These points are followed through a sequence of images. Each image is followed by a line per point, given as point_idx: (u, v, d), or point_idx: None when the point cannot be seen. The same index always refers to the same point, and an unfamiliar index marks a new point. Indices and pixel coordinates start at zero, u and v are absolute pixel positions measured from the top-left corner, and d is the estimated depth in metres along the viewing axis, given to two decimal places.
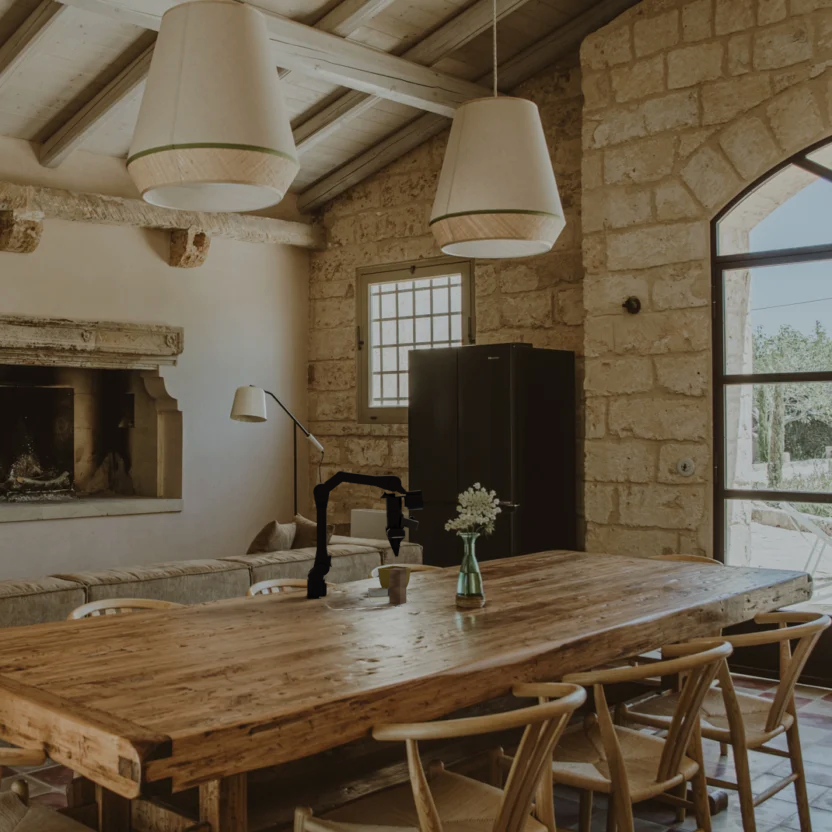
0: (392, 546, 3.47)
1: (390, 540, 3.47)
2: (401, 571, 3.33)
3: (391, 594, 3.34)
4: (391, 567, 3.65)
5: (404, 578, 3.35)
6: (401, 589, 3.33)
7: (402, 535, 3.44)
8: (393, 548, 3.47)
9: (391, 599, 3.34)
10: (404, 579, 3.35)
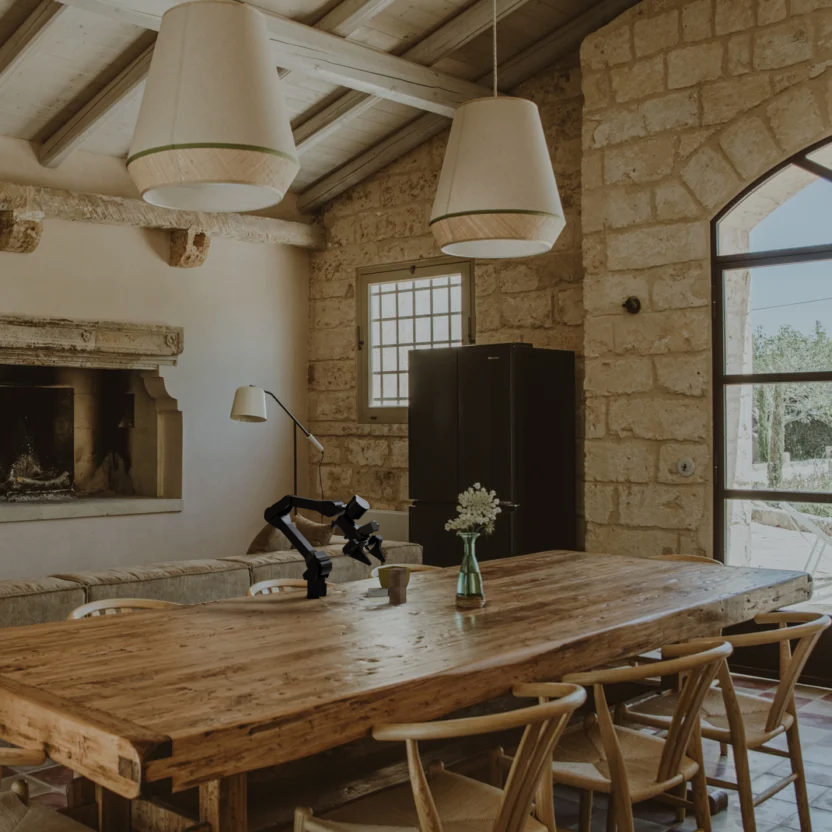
0: (359, 559, 3.36)
1: (353, 556, 3.36)
2: (401, 571, 3.33)
3: (391, 594, 3.34)
4: (391, 567, 3.65)
5: (404, 578, 3.35)
6: (401, 589, 3.33)
7: (353, 545, 3.33)
8: (361, 560, 3.35)
9: (391, 599, 3.34)
10: (404, 579, 3.35)
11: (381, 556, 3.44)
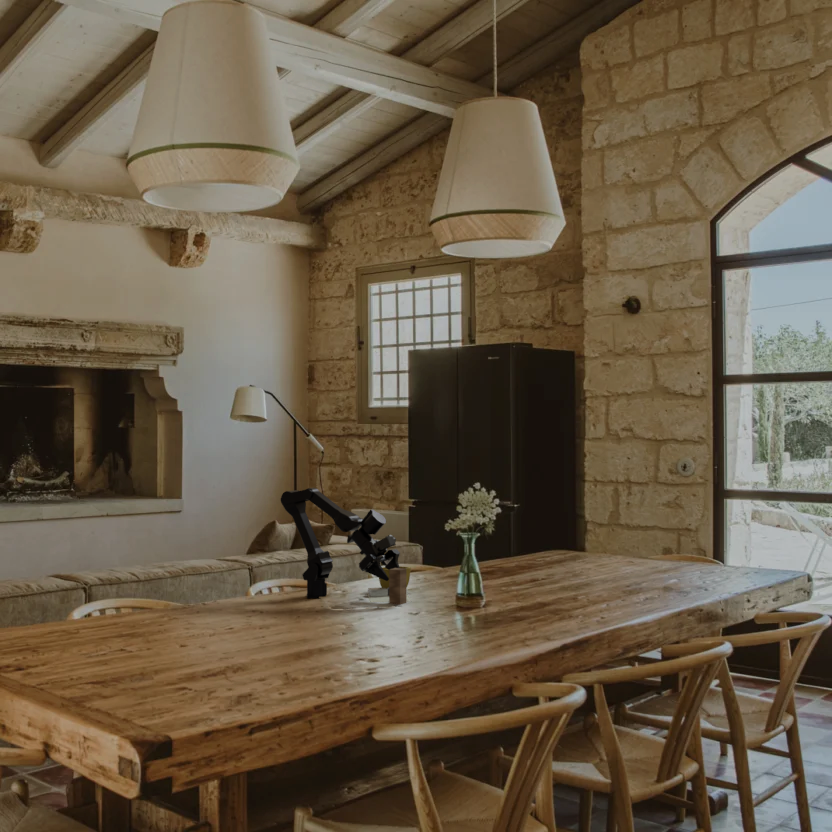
0: (376, 575, 3.32)
1: (370, 571, 3.33)
2: (401, 571, 3.33)
3: (391, 594, 3.34)
4: None
5: (404, 578, 3.35)
6: (401, 589, 3.33)
7: (370, 560, 3.30)
8: (379, 575, 3.32)
9: (391, 599, 3.34)
10: (404, 579, 3.35)
11: None
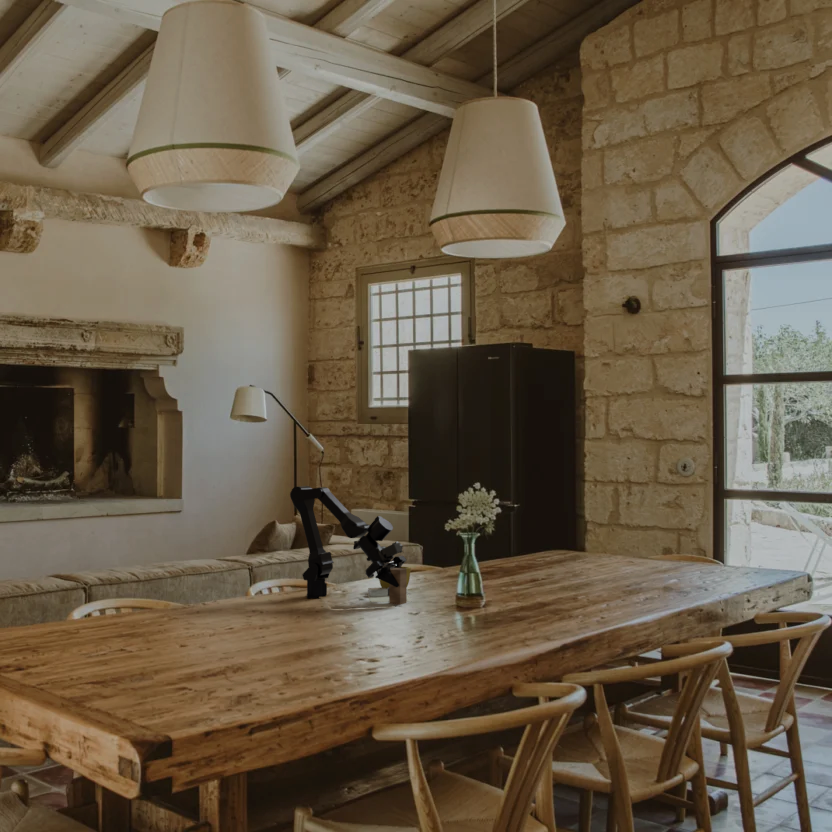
0: (386, 581, 3.33)
1: (380, 577, 3.33)
2: (401, 571, 3.33)
3: (391, 594, 3.34)
4: None
5: (404, 578, 3.35)
6: (401, 589, 3.33)
7: (376, 567, 3.28)
8: (389, 582, 3.33)
9: (391, 599, 3.34)
10: (404, 578, 3.35)
11: None
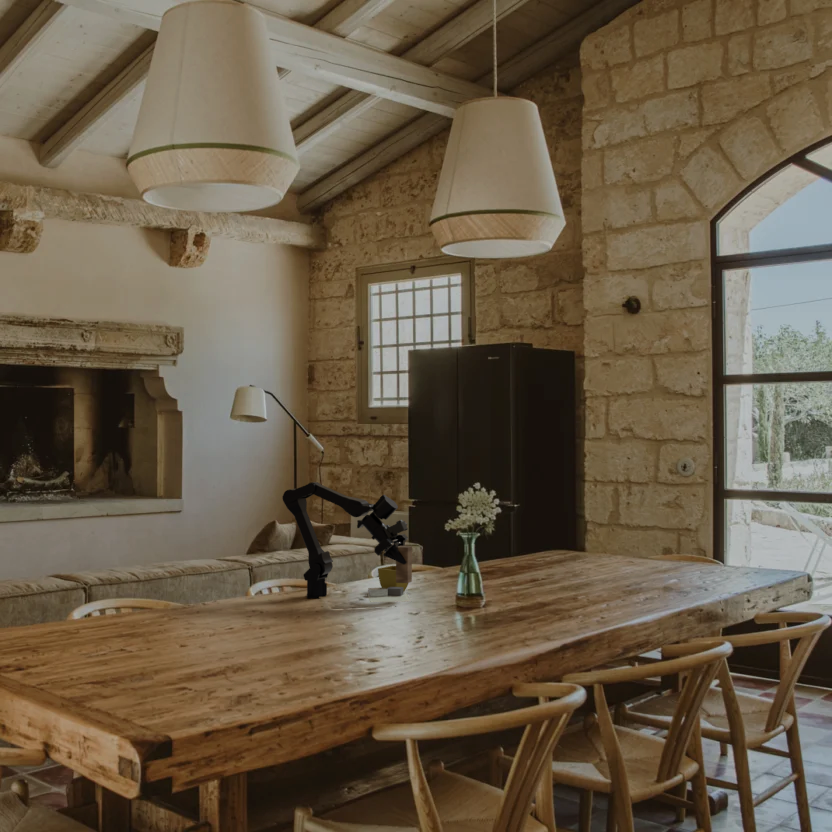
0: (394, 558, 3.38)
1: (387, 555, 3.38)
2: (408, 548, 3.38)
3: (397, 571, 3.39)
4: (391, 567, 3.65)
5: (410, 555, 3.40)
6: (408, 566, 3.38)
7: (386, 544, 3.32)
8: (396, 559, 3.38)
9: (397, 576, 3.39)
10: (410, 556, 3.40)
11: None
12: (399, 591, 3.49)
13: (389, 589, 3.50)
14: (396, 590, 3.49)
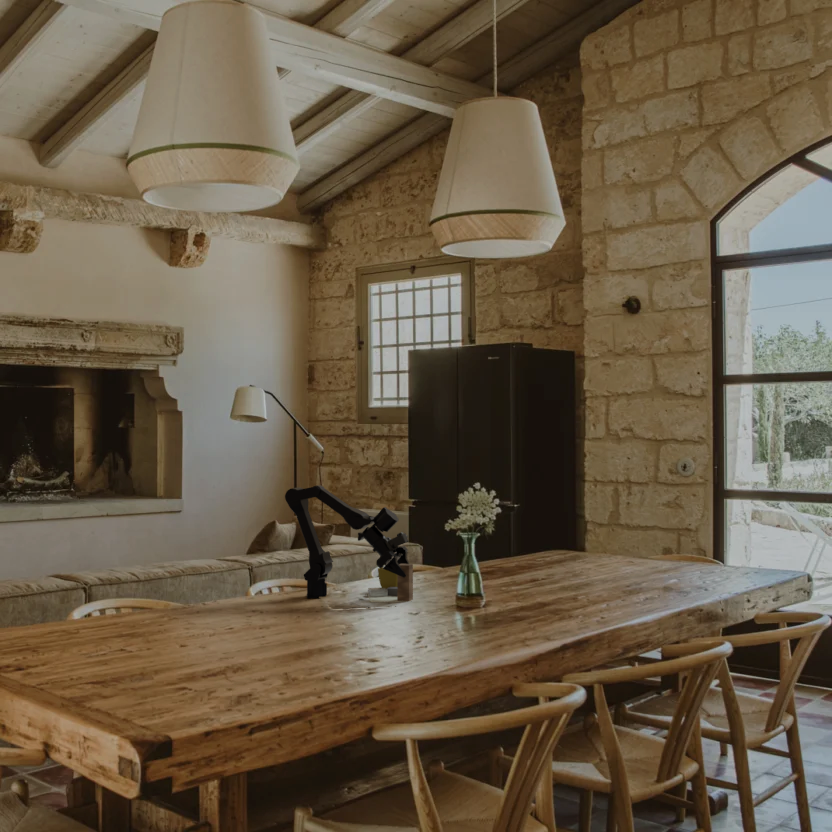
0: (393, 571, 3.37)
1: (387, 568, 3.37)
2: (409, 566, 3.40)
3: (399, 589, 3.40)
4: None
5: (411, 573, 3.42)
6: (410, 584, 3.40)
7: (389, 557, 3.33)
8: (396, 572, 3.37)
9: (399, 594, 3.40)
10: (411, 574, 3.41)
11: None
12: None
13: (389, 589, 3.50)
14: (396, 590, 3.49)
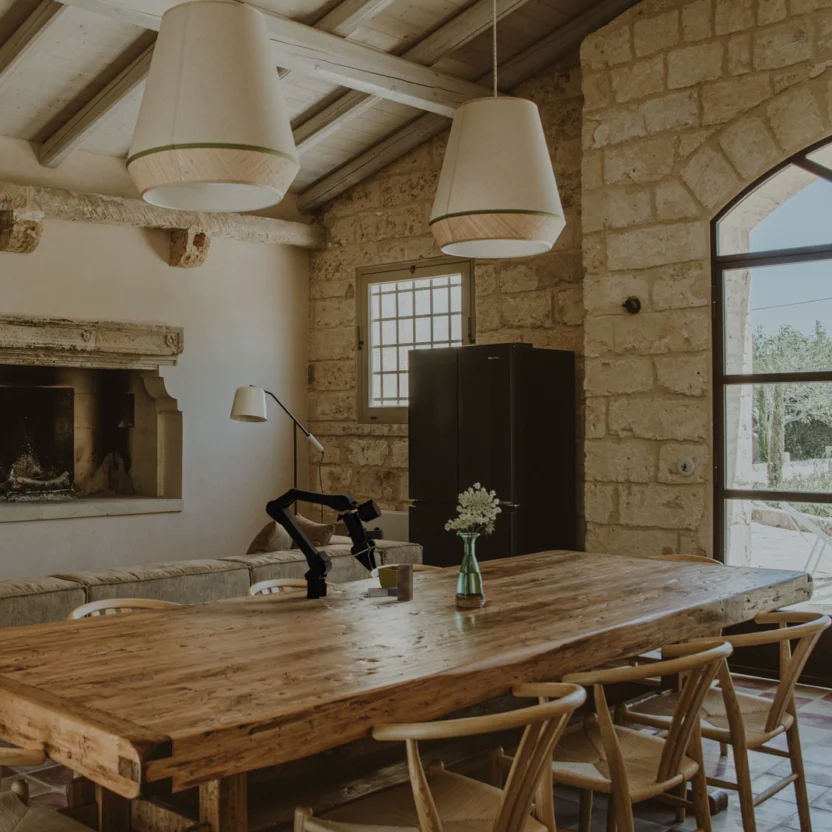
0: (362, 562, 3.41)
1: (357, 557, 3.40)
2: (410, 566, 3.40)
3: (399, 589, 3.40)
4: (391, 567, 3.65)
5: (411, 573, 3.42)
6: (410, 584, 3.40)
7: (365, 548, 3.37)
8: (364, 564, 3.41)
9: (399, 594, 3.40)
10: (411, 574, 3.41)
11: (373, 562, 3.51)
12: None
13: (389, 589, 3.50)
14: (396, 590, 3.49)
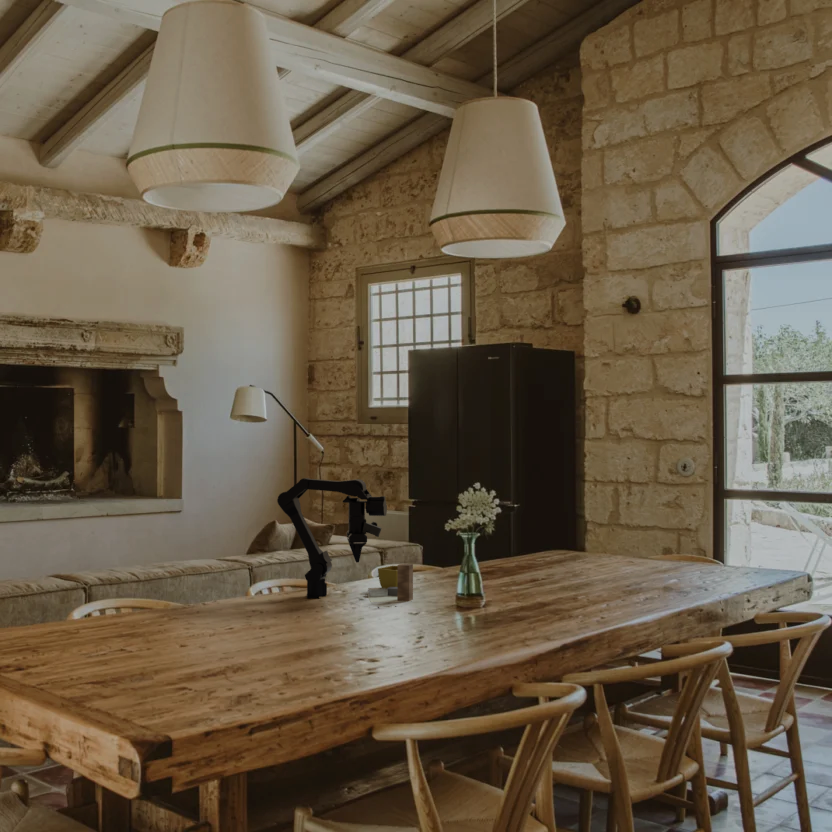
0: (353, 551, 3.43)
1: (351, 545, 3.42)
2: (410, 566, 3.40)
3: (399, 589, 3.40)
4: (391, 567, 3.65)
5: (411, 573, 3.42)
6: (410, 584, 3.40)
7: (364, 541, 3.40)
8: (354, 554, 3.43)
9: (399, 594, 3.40)
10: (411, 574, 3.41)
11: None
12: None
13: (389, 589, 3.50)
14: (396, 590, 3.49)
